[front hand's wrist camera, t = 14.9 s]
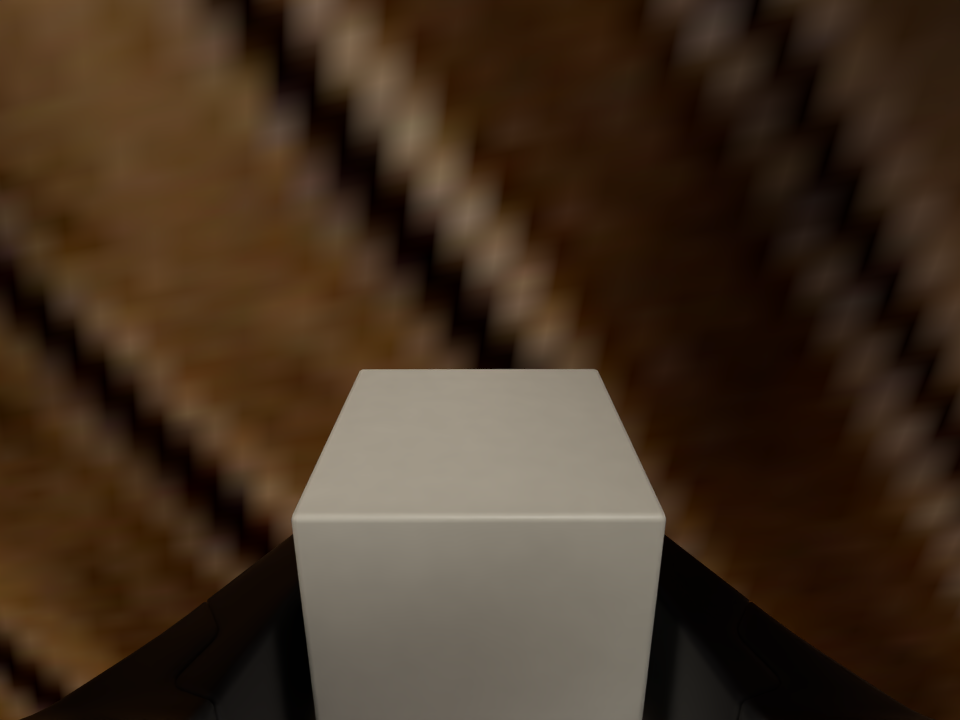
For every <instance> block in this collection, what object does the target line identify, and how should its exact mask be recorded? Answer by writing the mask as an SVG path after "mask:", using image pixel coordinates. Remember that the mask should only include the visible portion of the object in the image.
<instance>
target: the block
mask: <svg viewBox="0 0 960 720" xmlns="http://www.w3.org/2000/svg"><path fill="white" fill-rule="evenodd" d="M291 521H292V529H293V537H294V546H295V554H296V562H297V570H298V578H299V587H300V595H301V603H302V611H303V619H304V627H305V636H306V644H307V652H308V660H309V668H310V676H311V685H312V693H313V701H314V709H315V717H316V720H642V717H643V709H644V701H645V692H646V684H647V675H648V667H649V658H650V650H651V642H652V633H653V625H654V616H655V608H656V599H657V591H658V583H659V574H660V566H661V557H662V549H663V541H664V532H665V524H666V517H665V514H664V512H663V510H662V507H661V505H660V503H659V501H658V499H657V497H656V495H655V492H654V490H653V488H652V486H651V484H650V482H649V480H648V477H647V475H646V473H645V471H644V469H643V467H642V465H641V462H640V460H639V458H638V456H637V454H636V452H635V450H634V447H633V445H632V443H631V441H630V439H629V437H628V435H627V432H626V430H625V428H624V426H623V424H622V422H621V420H620V417H619V415H618V413H617V411H616V409H615V407H614V405H613V402H612V400H611V398H610V396H609V394H608V392H607V390H606V387H605V385H604V383H603V381H602V379H601V377H600V375H599V372H598V371H597V370H595V369H365V370H361V371H360V372H359V374H358V376H357V378H356V380H355V382H354V384H353V387H352V389H351V391H350V393H349V395H348V397H347V399H346V402H345V404H344V406H343V408H342V410H341V412H340V414H339V417H338V419H337V421H336V423H335V425H334V427H333V429H332V432H331V434H330V436H329V438H328V440H327V442H326V444H325V447H324V449H323V451H322V453H321V455H320V457H319V459H318V462H317V464H316V466H315V468H314V470H313V472H312V474H311V477H310V479H309V481H308V483H307V485H306V487H305V489H304V492H303V494H302V496H301V498H300V500H299V502H298V504H297V507H296V509H295V511H294V513H293V515H292V518H291Z"/></svg>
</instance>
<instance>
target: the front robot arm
mask: <svg viewBox="0 0 960 720" xmlns="http://www.w3.org/2000/svg"><path fill="white" fill-rule="evenodd" d="M20 720H316V717H315V709H314V701H313V693H312V685H311V676H310V668H309V660H308V652H307V644H306V636H305V627H304V619H303V611H302V603H301V595H300V587H299V578H298V570H297V562H296V554H295V546H294V537H293V534H292V535H291V536H290V537H289V538H287V539H286V540H285V541H283V542H282V543H281V544H279V545H278V546H277V547H276V548H274V549H273V550H272V551H270V552H269V553H268V554H266V555H265V556H264V557H263V558H261V559H260V560H259V561H257V562H256V563H255V564H253V565H252V566H251V567H249V568H248V569H247V570H246V571H244V572H243V573H242V574H240V575H239V576H238V577H236V578H235V579H234V580H233V581H231V582H230V583H229V584H227V585H226V586H225V587H223V588H222V589H221V590H220V591H218V592H217V593H216V594H214V595H213V596H212V597H210V598H209V599H208V600H207V602H204V603H202V604H201V605H200V606H198V607H197V608H196V609H194V610H193V611H192V612H191V613H189V614H188V615H187V616H185V617H184V618H183V619H181V620H180V621H178V622H177V623H176V624H174V625H173V626H172V627H170V628H169V629H167V630H166V631H165V632H163V633H162V634H161V635H159V636H158V637H156V638H155V639H153V640H152V641H150V642H149V643H147V644H146V645H144V646H143V647H141V648H140V649H138V650H137V651H135V652H134V653H132V654H131V655H129V656H128V657H126V658H124V659H123V660H121V661H120V662H118V663H117V664H115V665H114V666H112V667H111V668H109V669H107V670H106V671H104V672H103V673H101V674H100V675H98V676H97V677H95V678H93V679H92V680H90V681H89V682H87V683H86V684H84V685H83V686H81V687H80V688H78V689H76V690H75V691H73V692H72V693H70V694H69V695H67V696H66V697H64V698H62V699H61V700H59V701H58V702H56V703H54V704H53V705H51V706H49V707H48V708H46V709H44V710H42V711H40V712H38V713H35V714H33V715H31V716H28V717H25V718H23V719H20ZM642 720H935V719H932V718H929V717H927V716H924V715H922V714H919V713H917V712H915V711H913V710H911V709H909V708H907V707H906V706H904V705H902V704H901V703H899V702H897V701H896V700H894V699H893V698H891V697H890V696H888V695H887V694H885V693H883V692H882V691H880V690H879V689H877V688H876V687H874V686H873V685H871V684H870V683H868V682H866V681H865V680H863V679H862V678H860V677H859V676H857V675H856V674H854V673H853V672H851V671H850V670H848V669H846V668H845V667H843V666H842V665H840V664H839V663H837V662H836V661H834V660H833V659H831V658H830V657H828V656H826V655H825V654H823V653H822V652H820V651H819V650H817V649H816V648H815V647H813V646H812V645H810V644H809V643H807V642H806V641H804V640H803V639H801V638H800V637H798V636H797V635H795V634H794V633H792V632H791V631H790V630H788V629H787V628H786V627H784V626H783V625H782V624H780V623H779V622H778V621H776V620H775V619H773V618H772V617H771V616H769V615H768V614H767V613H765V612H764V611H763V610H762V609H760V608H759V607H758V606H756V605H755V604H754V603H752V602H750V603H749V600H748V599H747V598H746V597H745V596H743V595H742V594H741V593H739V592H738V591H737V590H735V589H734V588H733V587H732V586H730V585H729V584H728V583H726V582H725V581H724V580H723V579H721V578H720V577H719V576H717V575H716V574H715V573H714V572H712V571H711V570H710V569H708V568H707V567H706V566H704V565H703V564H702V563H701V562H699V561H698V560H697V559H695V558H694V557H693V556H692V555H690V554H689V553H688V552H686V551H685V550H684V549H682V548H681V547H680V546H679V545H677V544H676V543H675V542H673V541H672V540H671V539H670V538H668V537H667V536H666V535H664V541H663V549H662V557H661V566H660V574H659V583H658V591H657V599H656V608H655V616H654V625H653V633H652V642H651V650H650V658H649V667H648V675H647V684H646V692H645V701H644V709H643V717H642Z"/></svg>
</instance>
